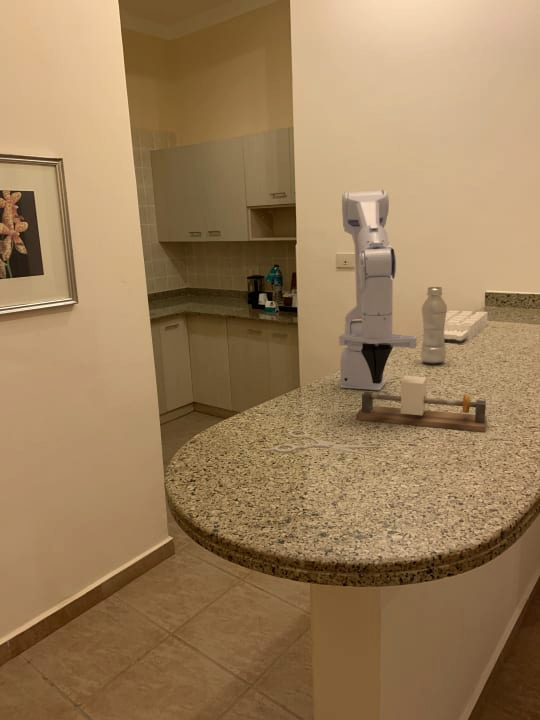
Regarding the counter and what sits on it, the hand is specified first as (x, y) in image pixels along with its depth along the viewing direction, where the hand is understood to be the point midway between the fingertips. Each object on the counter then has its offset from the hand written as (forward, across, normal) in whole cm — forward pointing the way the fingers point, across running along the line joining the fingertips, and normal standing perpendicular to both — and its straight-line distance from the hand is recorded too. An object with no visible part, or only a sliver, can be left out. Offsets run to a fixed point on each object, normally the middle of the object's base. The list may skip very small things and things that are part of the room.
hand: (377, 382), depth 105 cm
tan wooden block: (+5, +7, 0) cm, 9 cm away
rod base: (+7, +8, 0) cm, 11 cm away
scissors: (+8, -5, -17) cm, 19 cm away
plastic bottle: (+7, +5, +44) cm, 45 cm away
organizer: (+7, +7, +86) cm, 86 cm away
